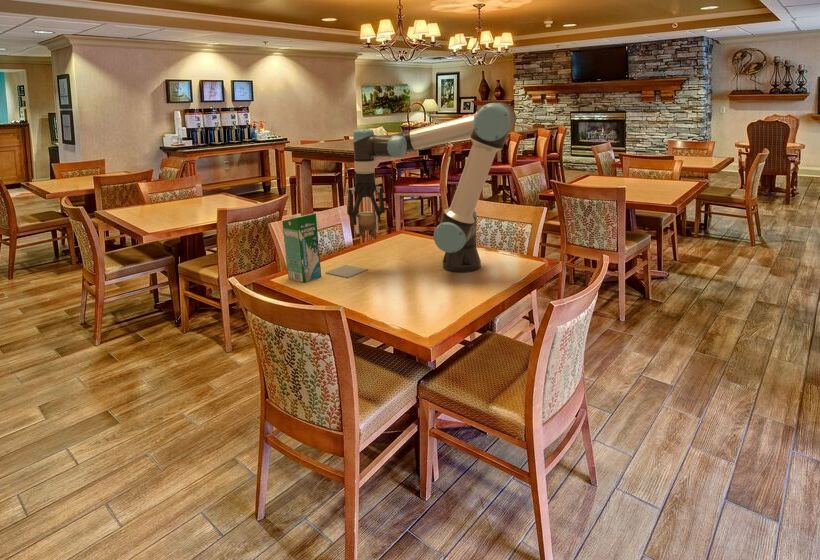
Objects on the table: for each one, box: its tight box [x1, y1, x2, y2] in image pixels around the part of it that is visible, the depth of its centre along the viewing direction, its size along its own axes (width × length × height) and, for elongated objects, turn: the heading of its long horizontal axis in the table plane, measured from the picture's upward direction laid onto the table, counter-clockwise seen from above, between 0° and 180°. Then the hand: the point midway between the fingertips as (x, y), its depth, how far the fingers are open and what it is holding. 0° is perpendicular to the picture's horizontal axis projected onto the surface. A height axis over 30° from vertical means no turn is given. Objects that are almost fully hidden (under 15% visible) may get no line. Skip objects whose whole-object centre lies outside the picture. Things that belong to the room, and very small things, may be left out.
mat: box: [324, 264, 369, 279], centre depth 222 cm, size 12×12×1 cm
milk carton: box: [281, 213, 322, 283], centre depth 213 cm, size 9×9×25 cm
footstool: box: [356, 211, 376, 239], centre depth 216 cm, size 7×7×9 cm
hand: (366, 232), depth 217 cm, fingers closed on footstool, 7 cm apart
